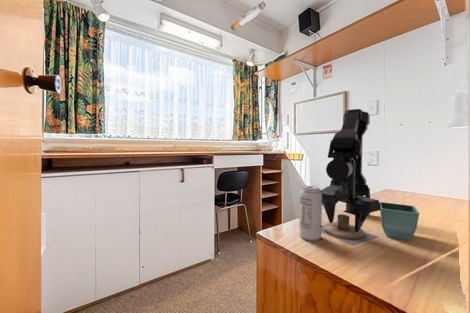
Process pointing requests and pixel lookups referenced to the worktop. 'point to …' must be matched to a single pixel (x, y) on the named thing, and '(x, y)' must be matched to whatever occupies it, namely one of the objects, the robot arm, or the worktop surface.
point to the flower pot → (399, 220)
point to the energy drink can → (310, 213)
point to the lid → (343, 229)
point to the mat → (352, 241)
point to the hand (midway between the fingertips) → (343, 227)
